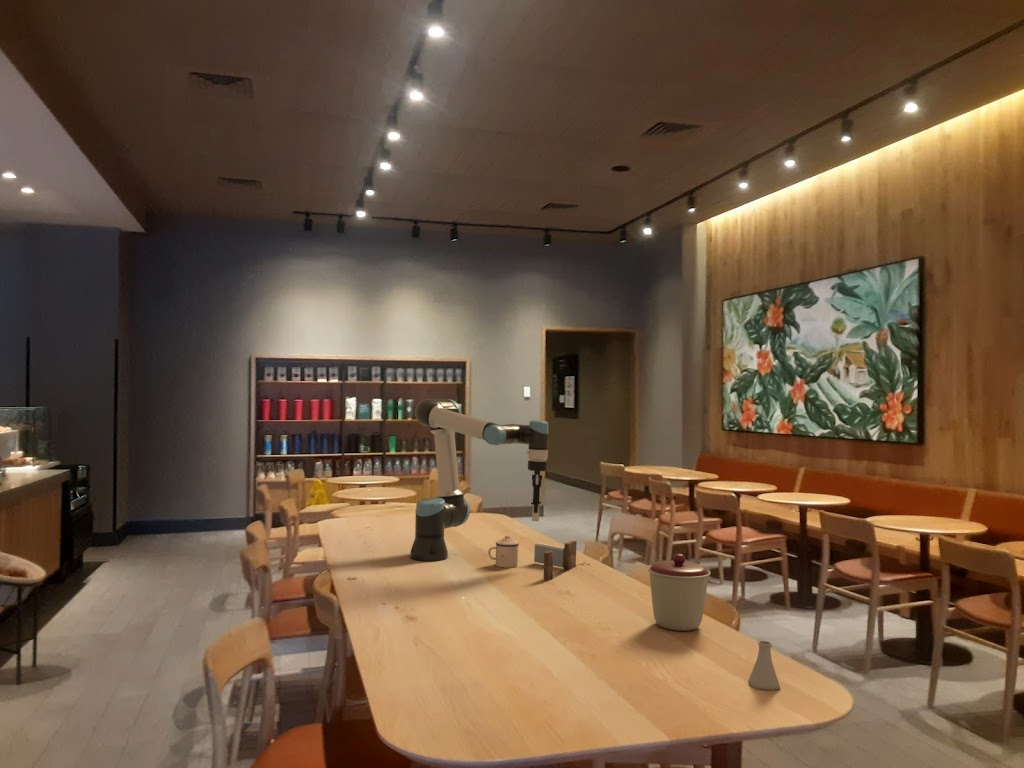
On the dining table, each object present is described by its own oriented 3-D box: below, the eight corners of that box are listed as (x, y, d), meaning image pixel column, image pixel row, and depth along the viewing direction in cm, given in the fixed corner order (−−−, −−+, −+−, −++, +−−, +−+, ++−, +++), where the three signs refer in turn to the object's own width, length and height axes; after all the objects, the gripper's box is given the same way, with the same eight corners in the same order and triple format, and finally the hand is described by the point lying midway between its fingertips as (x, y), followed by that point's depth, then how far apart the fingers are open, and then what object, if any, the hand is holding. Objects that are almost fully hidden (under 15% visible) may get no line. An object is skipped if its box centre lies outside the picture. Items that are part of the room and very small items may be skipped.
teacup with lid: (515, 562, 303) (516, 533, 303) (520, 567, 294) (521, 537, 295) (485, 563, 300) (486, 533, 301) (490, 568, 292) (491, 538, 292)
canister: (673, 639, 211) (674, 562, 212) (633, 621, 227) (635, 550, 228) (722, 631, 220) (724, 557, 220) (681, 614, 236) (683, 546, 236)
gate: (564, 567, 295) (565, 547, 295) (562, 567, 294) (563, 548, 294) (536, 561, 304) (536, 542, 304) (534, 561, 303) (534, 542, 303)
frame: (542, 580, 275) (543, 552, 276) (570, 565, 300) (571, 540, 300) (549, 580, 274) (549, 553, 274) (576, 566, 299) (577, 541, 299)
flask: (743, 679, 182) (743, 637, 182) (772, 679, 182) (773, 637, 183) (755, 691, 175) (756, 647, 175) (785, 691, 175) (786, 647, 175)
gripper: (528, 458, 304) (525, 517, 304) (527, 461, 291) (525, 523, 291) (547, 459, 304) (544, 518, 303) (547, 462, 291) (545, 524, 290)
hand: (535, 520), depth 297 cm, fingers closed
